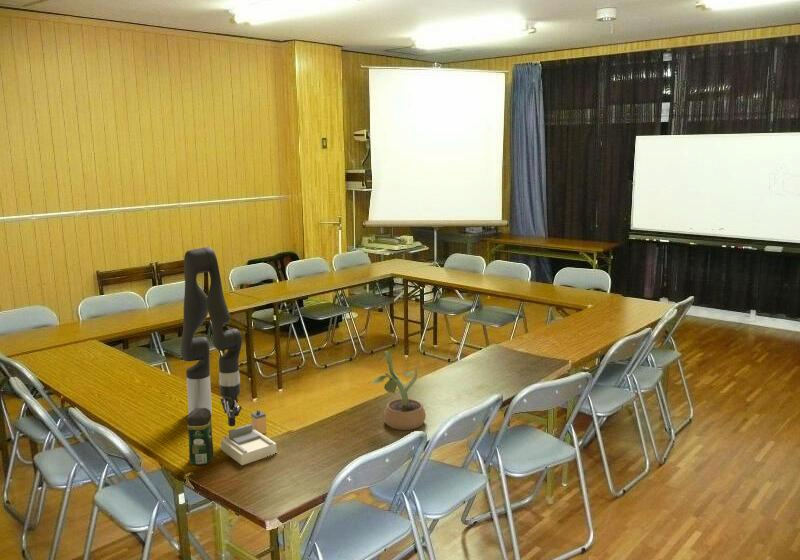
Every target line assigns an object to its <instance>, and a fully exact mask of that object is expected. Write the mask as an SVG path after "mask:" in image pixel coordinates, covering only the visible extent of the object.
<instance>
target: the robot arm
mask: <svg viewBox="0 0 800 560" xmlns="http://www.w3.org/2000/svg"><path fill="white" fill-rule="evenodd" d="M183 268H184V269H183V270H184V273H183V274H184V296H183V297H184V298H183V299H184V300H183V321H182V322H183V323H182V325H183V327H182V335H181V341H180V355H181V359H182V360H183V361H184V362H194V361H197V362H196V363H195V364H193V365H191V366H190V367H188V368H187V369H186V372H185V373H186V374H185V376H186V390H187V404H188V405H187V407H188V414H189V413H190V412H191V411H193V410H194V409H195V408H207V409H208V410H210V412H211V416H212V415H213V410H212V409H213V408H212V407H213V406H212V405H213V404H212V389H211V373H210V371H211V370H210V369H211V368H210V367H211V365H210V364H211V363H210V362H211V361H210V358H211V357H210V342H209V339H208V338H207V337H206V336H198V337H194V336H195V333H196V332H197V330H199V328H200V327H201V326H202V325H203V323H204V322H205V320H206V319H207V317H208V315H209V318H210V322H211V338H212V339H211V340H212V344H213V346H214V348H215V349H216V350H217V351H220V352H222V351H226V350H227V351H226V352H225V353H223V354H222V355H220V357H219V359H218V370H219V373H218V374H219V375H218V381H219V395H220V396H221V397H223V398H220V402H221V405H222V409H223V411H224V414H226V416H227V423H228V426H229V427H234V426H236V417H238V416H239V414H240V413H241V410H242V406H241V405H239V399H238V396H239V395H240V394H241V376H240V368H239V367H240V366H239V358H240V354H241V349H242V345H243V336H242V333H241V331H240V330H239V329H238V328H231V329H230V328H229V329H225V330H224V325H226V324H228V323H230V322H231V315H230V312H229V309H228V305H227V302H226V300H225V299H226V298H225V295H224V292H223V284H222V279H221V274H220V267H219V262H218V257H217V255H216V253H215V251H214V250H213V248H212V247H209V246H208V247H200V248H195V249H194V248H193V249H190V250H186V251H185V254H184V257H183ZM202 273H208V274H209V278H210V283H209V285H210V286H209V289H208V293H205V291H204V290H203V289H202V288H201V286H200V284H198V280H197V277H198V274H202Z"/></svg>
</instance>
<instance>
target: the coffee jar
mask: <svg viewBox="0 0 800 560" xmlns="http://www.w3.org/2000/svg"><path fill="white" fill-rule="evenodd" d="M186 426H187V434H188V435H187V436H188V452H189V453H188V454H189V462H190V464H192V465H195V466H202V465H206V464H209V463H211V461H212V460H213V458H214V444H213V443H214V441H213V426H212V415H211V412H210V410H208V409H207V408H195V409H194V410H193V411H191V412H190V413H189V412H188V414H187V417H186Z"/></svg>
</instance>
